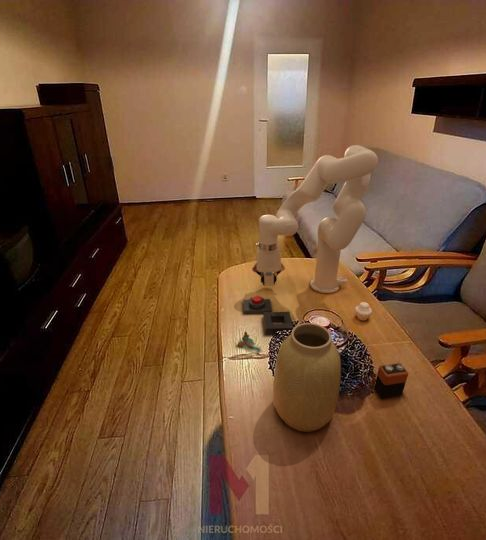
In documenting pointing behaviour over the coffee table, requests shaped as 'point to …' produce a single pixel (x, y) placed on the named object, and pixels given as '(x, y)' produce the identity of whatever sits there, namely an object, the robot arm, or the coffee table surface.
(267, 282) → the charger
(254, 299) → the power button
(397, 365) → the battery
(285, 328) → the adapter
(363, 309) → the cream rounded piece
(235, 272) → the coffee table surface
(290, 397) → the vase
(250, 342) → the dragon figurine
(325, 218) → the robot arm
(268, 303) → the switch block
